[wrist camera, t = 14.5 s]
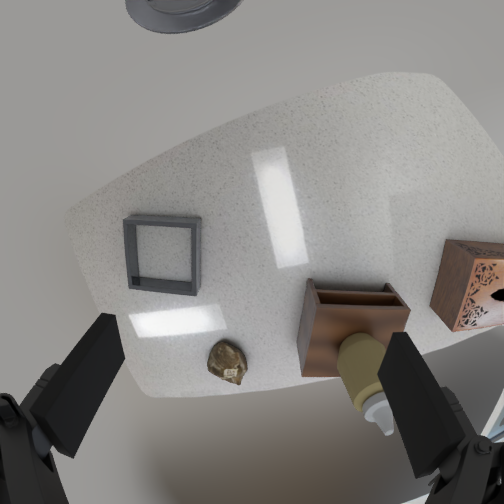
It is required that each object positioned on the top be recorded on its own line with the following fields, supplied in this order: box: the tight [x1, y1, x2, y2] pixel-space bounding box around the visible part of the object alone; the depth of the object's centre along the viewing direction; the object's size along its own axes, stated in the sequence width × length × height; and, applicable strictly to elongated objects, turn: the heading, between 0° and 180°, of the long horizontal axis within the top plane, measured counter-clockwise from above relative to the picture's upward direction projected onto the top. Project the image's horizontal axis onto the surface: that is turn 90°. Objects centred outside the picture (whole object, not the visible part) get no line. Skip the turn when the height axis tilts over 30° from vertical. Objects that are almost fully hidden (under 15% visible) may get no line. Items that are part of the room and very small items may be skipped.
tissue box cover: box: [429, 239, 504, 332], centre depth 45 cm, size 26×14×10 cm, turn 89°
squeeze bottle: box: [337, 333, 394, 435], centre depth 36 cm, size 8×8×18 cm
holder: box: [123, 215, 201, 296], centre depth 49 cm, size 13×13×4 cm
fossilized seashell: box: [207, 342, 248, 385], centre depth 55 cm, size 8×7×10 cm
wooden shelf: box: [297, 279, 411, 377], centre depth 49 cm, size 14×16×10 cm
